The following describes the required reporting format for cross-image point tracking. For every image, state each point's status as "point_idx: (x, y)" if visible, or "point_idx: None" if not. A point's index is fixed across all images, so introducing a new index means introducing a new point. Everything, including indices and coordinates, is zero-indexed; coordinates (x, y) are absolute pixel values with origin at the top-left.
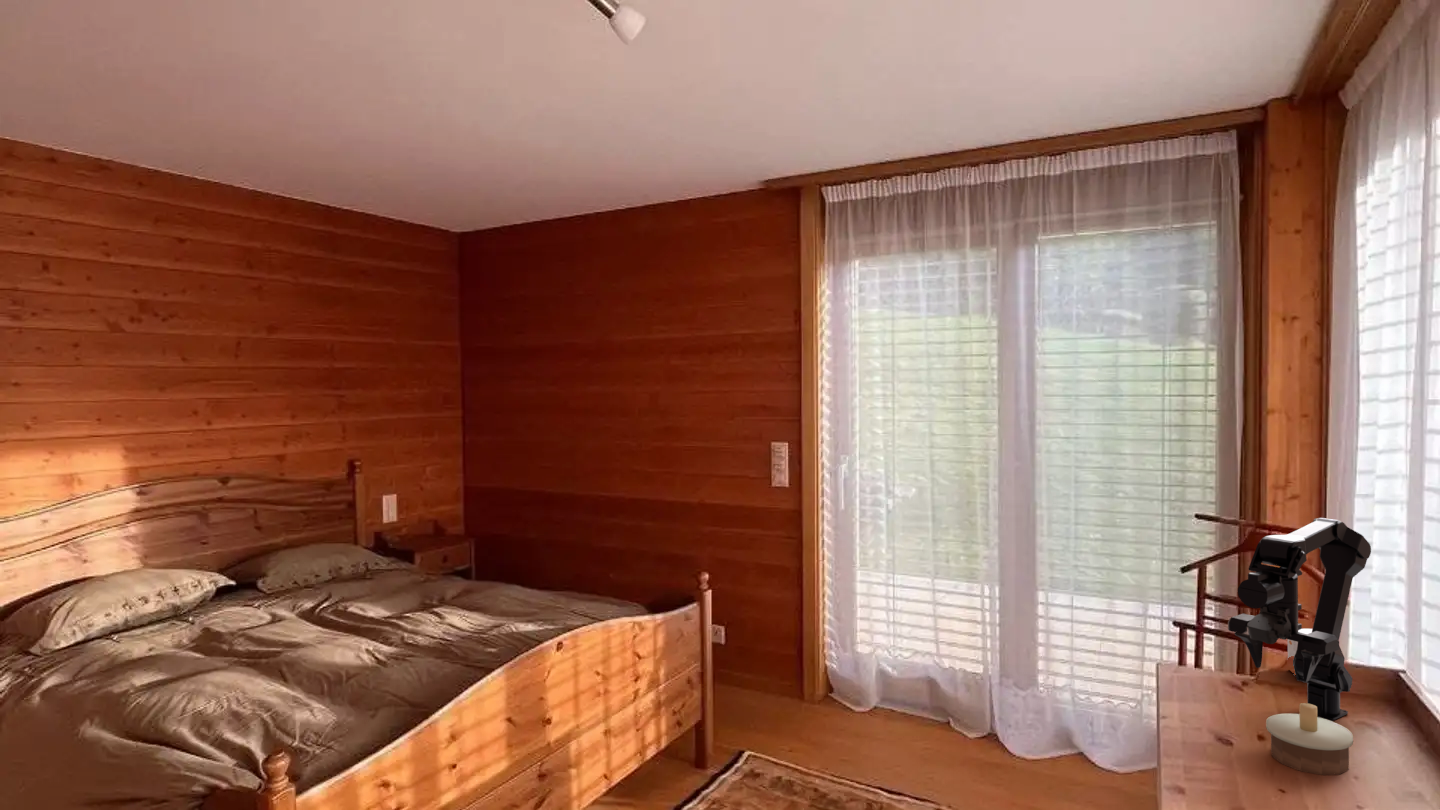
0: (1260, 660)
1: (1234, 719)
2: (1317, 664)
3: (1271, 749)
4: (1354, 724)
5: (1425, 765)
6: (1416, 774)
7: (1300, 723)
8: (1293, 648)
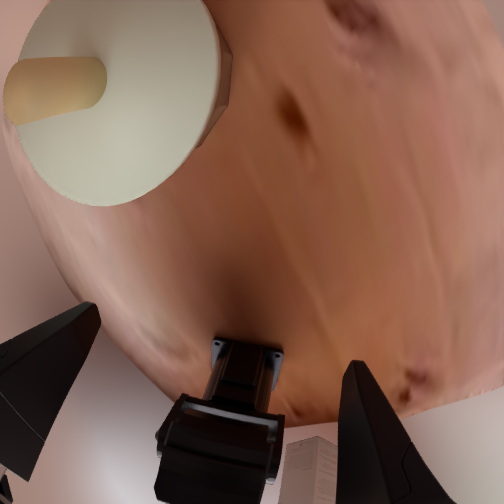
0: (343, 411)
1: (397, 201)
2: (198, 452)
3: (220, 35)
4: (183, 342)
5: (46, 241)
6: (32, 194)
7: (87, 59)
8: (334, 484)
